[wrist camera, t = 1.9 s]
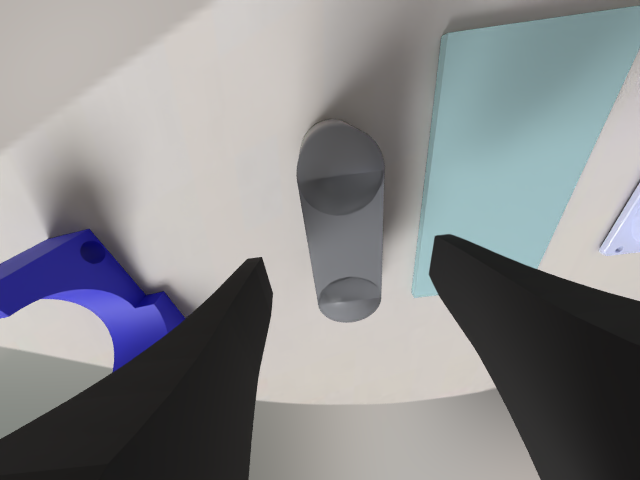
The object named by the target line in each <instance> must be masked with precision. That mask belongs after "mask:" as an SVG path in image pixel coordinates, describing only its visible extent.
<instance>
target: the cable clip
mask: <svg viewBox="0 0 640 480" xmlns="http://www.w3.org/2000/svg"><path fill="white" fill-rule="evenodd" d="M39 299H58V300H65V301H70V302H73V303H76V304H79V305H81V306H84V307H86V308H87V309H89V310H91V311H92V312H94V313H95V314H96V315H97V316H98V317H99V318H100V319H101V320H102V321H103V322H104V324H105V325H106V327H107V328H108V330H109V332H110V335H111V337H112V341H113V345H114V367H113V372H114V371H116V370H117V369H119V368H120V367H122V366H123V365H125V364H126V363H128V362H129V361H131V360H132V359H133V358H135V357H136V356H137V355H139V354H140V353H142V352H143V351H144V350H146V349H147V348H149V347H150V346H151V345H153V344H154V343H156V342H157V341H158V340H160V339H161V338H162V337H164V336H165V335H166V334H168V333H169V332H170V331H171V330H173V329H174V328H175V327H176V326H178V325H179V324H180V323H181V322H182V321H184V320H185V317H184V316H183V315H182V314H181V312H180V311H179V310H178V309H177V307H176V306H175V305H174V304H173V302H172V301H171V300H170V299H169V297H168V296H167V295H166V293H165V292H164V291H163V292H159V293H154V294H150V295H145V293H144V292H143V291H142V290H141V289H140V288H139V286H138V285H137V284H136V283H135V282H134V281H133V279H132V278H131V277H130V276H129V275H128V274H127V272H126V271H125V270H124V269H123V268H122V267H121V265H120V264H119V263H118V262H117V261H116V260H115V258H114V257H113V256H112V255H111V254H110V253H109V251H108V250H107V249H106V248H105V247H104V245H103V244H102V243H101V242H100V241H99V240H98V238H97V237H96V236H95V235H94V234H93V233H92V231H91V230H90V229H86V230H82V231H78V232H74V233H70V234H66V235H62V236H58V237H54V238H50V239H47V240H45V241H43V242H41V243H39V244H37V245H36V246H34V247H32V248H30V249H28V250H26V251H24V252H22V253H20V254H18V255H16V256H14V257H12V258H11V259H9V260H7V261H5V262H3V263H1V264H0V318H5V317H9V316H11V315H12V314H14V313H15V312H17V311H18V310H20V309H21V308H23V307H25V306H27V305H29V304H31V303H33V302H35V301H37V300H39ZM113 372H112V373H113Z"/></svg>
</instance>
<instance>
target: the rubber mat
mask: <svg viewBox="0 0 640 480" xmlns="http://www.w3.org/2000/svg"><path fill="white" fill-rule="evenodd" d="M639 48H640V5H639V6H632V7H625V8H618V9H611V10H604V11H597V12H590V13H583V14H576V15H569V16H562V17H555V18H548V19H541V20H534V21H527V22H520V23H513V24H506V25H499V26H492V27H485V28H478V29H471V30H464V31H457V32H451V33H447V34H445V35H443V36H442V37H441V45H440V54H439V62H438V71H437V79H436V88H435V96H434V105H433V113H432V122H431V130H430V139H429V147H428V156H427V164H426V173H425V181H424V190H423V199H422V207H421V216H420V224H419V233H418V241H417V250H416V258H415V267H414V275H413V284H412V292H411V293H412V294H413V296H414V298H417V297H426V296H435V295H438V293H437V291H436V289H435V287H434V285H433V283H432V281H431V279H430V276H429V269H430V262H431V256H432V250H433V244H434V237H435V236H436V235H445V234H452V235H455V236H458V237H460V238H463V239H465V240H467V241H470V242H472V243H475V244H477V245H479V246H481V247H484V248H486V249H488V250H491V251H493V252H495V253H498V254H500V255H502V256H505V257H507V258H510V259H512V260H515V261H517V262H520V263H522V264H525V265H527V266H530V267H532V268H535V269H537V268H538V266H539V264H540V261H541V259H542V257H543V255H544V253H545V251H546V249H547V246H548V244H549V242H550V240H551V238H552V236H553V233H554V231H555V229H556V227H557V225H558V223H559V221H560V218H561V216H562V214H563V212H564V210H565V208H566V205H567V203H568V201H569V199H570V197H571V195H572V193H573V190H574V188H575V186H576V184H577V182H578V180H579V177H580V175H581V173H582V171H583V169H584V167H585V165H586V162H587V160H588V158H589V156H590V154H591V152H592V149H593V147H594V145H595V143H596V141H597V139H598V137H599V134H600V132H601V130H602V128H603V126H604V124H605V121H606V119H607V117H608V115H609V113H610V111H611V109H612V106H613V104H614V102H615V100H616V98H617V96H618V93H619V91H620V89H621V87H622V85H623V83H624V81H625V78H626V76H627V74H628V72H629V70H630V68H631V65H632V63H633V61H634V59H635V57H636V55H637V53H638V50H639Z"/></svg>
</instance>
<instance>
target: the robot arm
mask: <svg viewBox="0 0 640 480" xmlns="http://www.w3.org/2000/svg"><path fill="white" fill-rule="evenodd" d="M599 252H600V253H601V254H603V255H605V256H610V255H618V254H627V253H635V252H640V183H639V185H638V186H637V188H636V189H635V191H634V193H633V194H632V196H631V198H630V199H629V201H628V203H627V204H626V206H625V208H624V209H623V211H622V213H621V214H620V216H619V218H618V219H617V221H616V222H615V224H614V226H613V227H612V229H611V231H610V232H609V234H608V236H607V237H606V239H605V241H604V242H603V244H602V246H601V247H600V249H599ZM429 276H430V279H431V281H432V283H433V285H434V287H435V289H436V291H437V293H438V295H439V296H440V298H441V299H442V301H443V302H444V304H445V305H446V307H447V308H448V310H449V311H450V313H451V314H452V316H453V317H454V319H455V320H456V322H457V323H458V325H459V326H460V327H461V329H462V330H463V332H464V333H465V335H466V336H467V338H468V339H469V341H470V342H471V344H472V345H473V347H474V348H475V350H476V351H477V353H478V355H479V356H480V358H481V360H482V362H483V364H484V365H485V367H486V369H487V371H488V373H489V375H490V376H491V378H492V380H493V382H494V384H495V386H496V388H497V389H498V391H499V393H500V395H501V397H502V399H503V401H504V403H505V405H506V407H507V409H508V411H509V413H510V415H511V417H512V419H513V421H514V423H515V425H516V427H517V429H518V431H519V433H520V435H521V437H522V440H523V442H524V444H525V446H526V448H527V450H528V452H529V454H530V457H531V459H532V461H533V464H534V466H535V468H536V470H537V472H538V475H539V477H540V479H541V480H640V301H637V300H633V299H629V298H626V297H622V296H618V295H615V294H611V293H608V292H604V291H601V290H597V289H594V288H591V287H588V286H584V285H581V284H578V283H575V282H572V281H569V280H566V279H563V278H560V277H557V276H554V275H551V274H548V273H546V272H543V271H540V270H538V269H535V268H532V267H530V266H527V265H525V264H522V263H520V262H517V261H515V260H512V259H510V258H507V257H505V256H502V255H500V254H498V253H495V252H493V251H491V250H488V249H486V248H484V247H481V246H479V245H477V244H475V243H472V242H470V241H467V240H465V239H463V238H460V237H458V236H455V235H452V234H445V235H436V236H435V237H434V244H433V250H432V256H431V262H430V269H429ZM272 298H273V292H272V289H271V285H270V282H269V279H268V276H267V272H266V269H265V266H264V262H263V259H262V257H258V258H250V259H247V260H246V261H245V262H244V263H243V264H242V265H241V266H240V267H239V268H238V269H237V270H236V271H235V272H234V273H233V274H232V275H231V276H230V277H229V278H228V279H227V280H226V281H225V282H224V283H223V284H222V285H221V286H220V287H219V288H218V289H217V290H216V291H215V292H214V293H213V294H212V295H211V296H210V297H209V298H208V299H207V300H206V301H205V302H204V303H203V304H202V305H201V306H199V307H198V308H197V309H196V310H195V311H194V312H193V313H192V314H191V315H190V316H188V317H187V318H186V319H185V320H184V321H182V322H181V323H180V324H179V325H178V326H176V327H175V328H174V329H173V330H171V331H170V332H169V333H168V334H166V335H165V336H164V337H162V338H161V339H160V340H158V341H157V342H156V343H154V344H153V345H151V346H150V347H149V348H147V349H146V350H144V351H143V352H142V353H140V354H139V355H137V356H136V357H135V358H133V359H132V360H131V361H129V362H128V363H126V364H125V365H123V366H122V367H120V368H119V369H117V370H116V371H114V372H113V373H111V374H110V375H108V376H107V377H105V378H103V379H102V380H100V381H99V382H97V383H96V384H94V385H92V386H91V387H89V388H87V389H86V390H84V391H83V392H81V393H79V394H78V395H76V396H75V397H73V398H71V399H70V400H68V401H67V402H64V403H63V404H61V405H59V406H58V407H56V408H54V409H52V410H51V411H49V412H47V413H45V414H44V415H42V416H40V417H38V418H37V419H35V420H33V421H32V422H30V423H28V424H26V425H25V426H23V427H21V428H19V429H18V430H16V431H14V432H12V433H11V434H9V435H7V436H5V437H3V438H1V439H0V480H248V477H249V465H250V452H251V440H252V430H253V420H254V409H255V401H256V392H257V383H258V377H259V371H260V365H261V361H262V356H263V351H264V347H265V342H266V337H267V333H268V328H269V323H270V318H271V311H272Z"/></svg>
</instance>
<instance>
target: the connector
mask: <svg viewBox="0 0 640 480" xmlns="http://www.w3.org/2000/svg"><path fill="white" fill-rule="evenodd" d="M384 170H385V169H384V159H383V156H382V153H381V151H380V148H379V147H378V145H377V144H376V142H375V141H374V140H373V139H372V138H371V137H370V136H369V135H367V134H366V133H364V132H362V131H361V130H359V129H357V128H355V127H353V126H351V125H349V124H348V123H346V122H343V121H341V120H336V119H328V120H324V121H321V122H319V123H317V124H315V125H314V126H313V127H311V128H310V129H309V131H308V132H307V133H306V135H305V136H304V139H303V141H302V144H301V149H300V154H299V159H298V165H297V183H298V189H299V195H300V201H301V207H302V212H303V218H304V224H305V230H306V236H307V242H308V247H309V253H310V259H311V265H312V271H313V277H314V283H315V288H316V294H317V300H318V305H319V309H320V311H321V312H322V313H323V314H324V315H325V316H326V317H328V318H329V319H331V320H334V321H337V322H356V321H359V320H362V319H364V318H367V317H368V316H370V315H371V314H372V313H374V312H375V311H376V309H377V308H378V307H379V304H380V302H381V286H382V247H383V209H384Z"/></svg>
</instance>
